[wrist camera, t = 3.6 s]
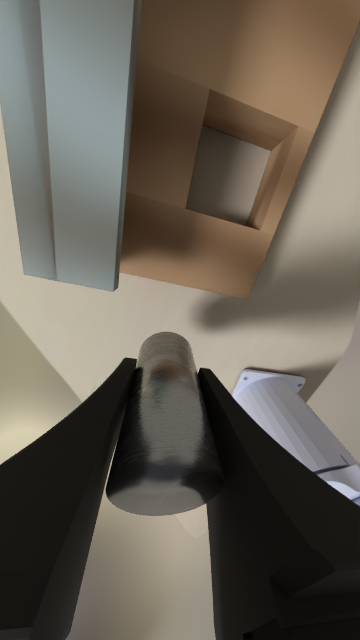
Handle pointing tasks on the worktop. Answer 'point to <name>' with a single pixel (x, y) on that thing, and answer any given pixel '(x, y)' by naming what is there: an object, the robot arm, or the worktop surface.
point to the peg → (164, 435)
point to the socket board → (157, 128)
